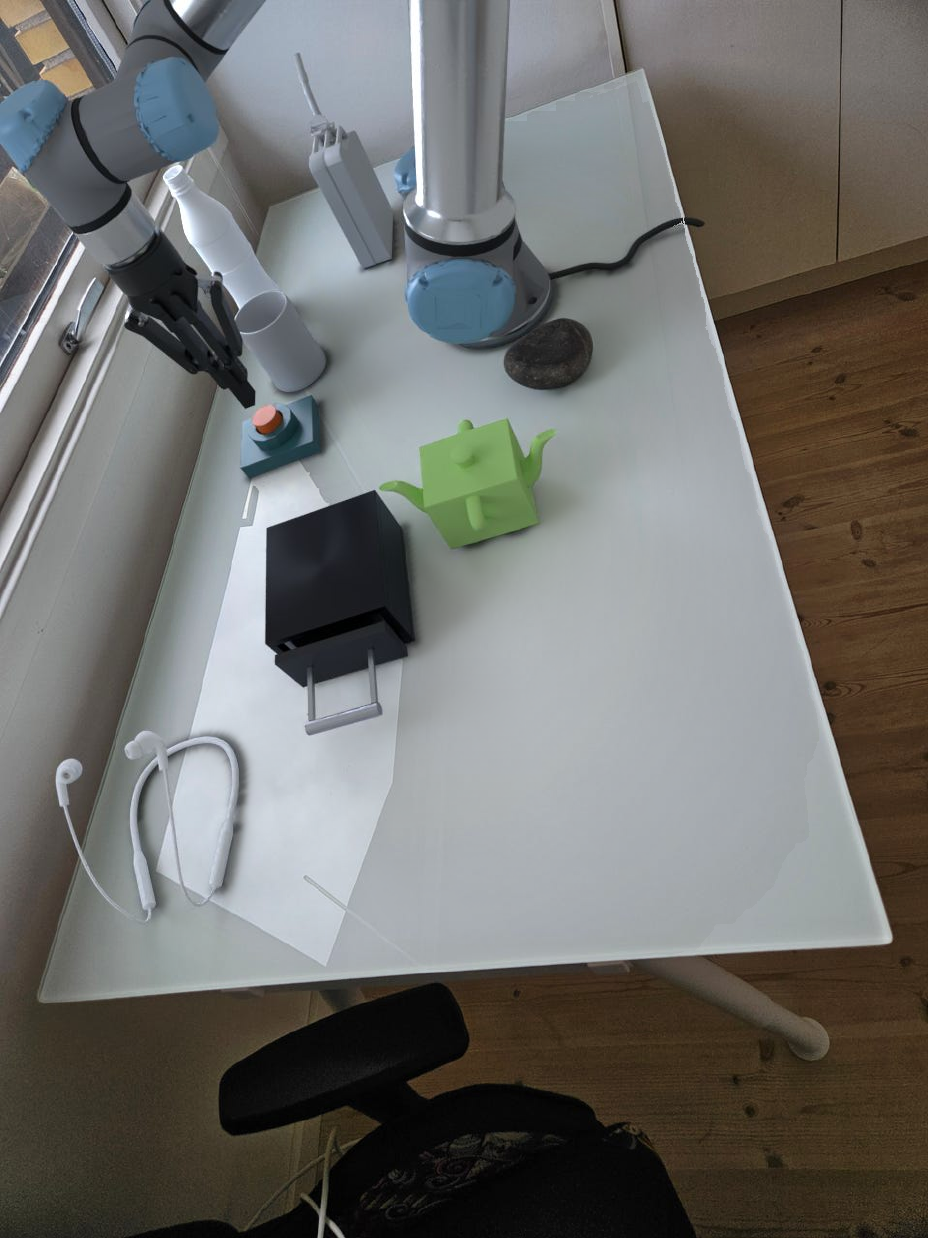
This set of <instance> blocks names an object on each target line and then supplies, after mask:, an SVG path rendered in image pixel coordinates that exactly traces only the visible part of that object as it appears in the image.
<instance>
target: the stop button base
mask: <svg viewBox="0 0 928 1238" xmlns="http://www.w3.org/2000/svg"><path fill="white" fill-rule="evenodd" d="M270 405H271V406H274V407H275V408H276V410H277V411H278V412H279V414H280V415H281V416H282V422H281V424H280V426H279V427H278V428H277V429H275V430H274V431H273V432H271V433H268V434H262V433H260V431H259V430H258V429H257V428H256V427H255V425H254V424H253V422H252V418H253V417H250V418H247V419H245V420H243V421H242V422H241V437H240V438H241V440H240V464H239V465H240V466H239V468H240V470H241V471H242V472H243V474H245V476H246V477H247V478H249V479H251V478H254V477H256V476H260V475H262V474H264V473H268V472H271V471H273V470H276V469H279V468H282V467H283V466H287V465H289V464H291V463H294V462H297V461H300V460H303V459H306V458H308V457H311V456H314V455H316V454H319V453H321V452H322V447H321V446H322V445H321V443H322V442H321V417H320V405H319V403H318V402H317V401H316V398H314V396H313V395H312V394H310V395H308V396H304V397H302V398H300V399H297V400H295V401H294V400H293V401H292V402H289V403H287V404H286V403H273V404H270Z"/></svg>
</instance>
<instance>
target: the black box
mask: <svg viewBox="0 0 928 1238" xmlns="http://www.w3.org/2000/svg"><path fill="white" fill-rule="evenodd" d="M265 531H266V532H265V536H266V537H265V538H266V539H265V606H264V608H265V610H264V611H265V612H264V613H265V614H264V615H265V617H264V645H265V646H267V647H268V648H269V649H271V651H273V652H274V653H275V655H276V654H279V653H282V652H286V651H289V650H291V649H290V648H289V647H288V646H287V645H285V644H284V643H286V642H289V641H292V640H295V639H299V638H302V637H305V636H308V635H311V634H314V633H318V632H321V631H324V630H327V629H330V628H334V627H337V626H340V625H343V624H346V623H349V622H353V621H356V620H359V619H362V618H365V617H368V616H372V615H375V614H378V613H382V614H383V616H384V617H385V618H386V619H387V620H388V621H389V622H390V624H391V625H392V626H393V627H394V628H395V629H396V630H397V632H398V637H399V638H400V639H401V640H402V642H403V643H404V644H405V645H408V644H410V643H413V642H415V641H416V638H415V628H414V620H413V611H412V602H411V592H410V584H409V583H410V582H409V573H408V572H409V571H408V564H407V555H406V546H405V536H404V529H403V527H402V526H401V524H400V523H399V522H398V520H397V519H396V518H395V516H394V514H393V513H392V512H391V511H390V509H389V508H388V506H387V505H386V503H385V502H384V500H383V499H382V498H381V496H380V495H379V493H378V491H377V490H376V489H373V490H370V491H367V492H364V493H361V494H358V495H355V496H353V497H350V498H348V499H344V500H342V501H339V502H336V503H332V504H330V505H327V506H325V507H322V508H318V509H316V510H314V511H313V510H312V511H310V512H307V513H305V514H302V515H299V516H296V517H293V518H291V519H288V520H285V521H282V522H279V523H276V524H273V525H270V526H268V527H266V529H265Z"/></svg>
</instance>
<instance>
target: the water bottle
mask: <svg viewBox="0 0 928 1238" xmlns="http://www.w3.org/2000/svg"><path fill="white" fill-rule="evenodd" d="M162 178H163V181H164V182H165V184H166V185H167V186H168V188H169V192H170V193H171V196H172V197H173V198H175V199H176V201H177V203H178V206H179V209H180V215H181V222H182V227H183V231H184V234H185V237H186V240H187V241H188V243H189V244H190V245H191V246H192V247H193V248H194V249H195V251H196V252H197V253H198V255H199V256H200V257H201V259H202V260H203V263H205V265H206V266H207V267H208V270H209V271H210V272H211V274H212V273H213V272H215V271H217V272H220V273H221V274H222V276H223V286H224V287H225V289H226V290H227V291H228V293H229V294H230V296H231V297H232V299H233V300H234V302H235V303H236V306H237V308H238V311H239V310H240V309H241V307H242V306H243V305H244V304H245V303H246V302H248V301H249V300H250V299H252V298H253V297H255V296H257V295H258V294H261V293H263V292H267V291H273V290H279V291H281V292H283V291H282V289H281V287H280V286H279V285H277V284H276V283H275V281H273V279H272V278H271V277H270V276H269V275H268V274H267V272H266V271H265V269H264V268H263V266H262V265H261V263H260V262H259V260H258V258H257V256H256V253H255V251H254V249H253V246H252V244H251V243H250V241H249V240H248V238H247V237H246V236H245V234H244V232H243V231H242V229H241V227H240V226H239V225H238V223H237V222H236V220H235V218H234V217H233V216H234V215H233V214H232V212H231V211H230V210H229V209H228V208H227V207H226V205H224V204H222V203H221V202H219V201H218V200H217V199H216V198H213V197H212V196H210V195H208V194H207V193H204V192H203V191H201V189H200V188H198V186H197V185H196V182H195V180H194V178H192V177H191V176H190V175H188V173H187V172H186V170H185V169H184V167H183V166H181V165H180V164H179V165H174V166H172V167H171V168H169V169H168V170H166V172H165V173H164V174H163V176H162Z"/></svg>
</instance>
